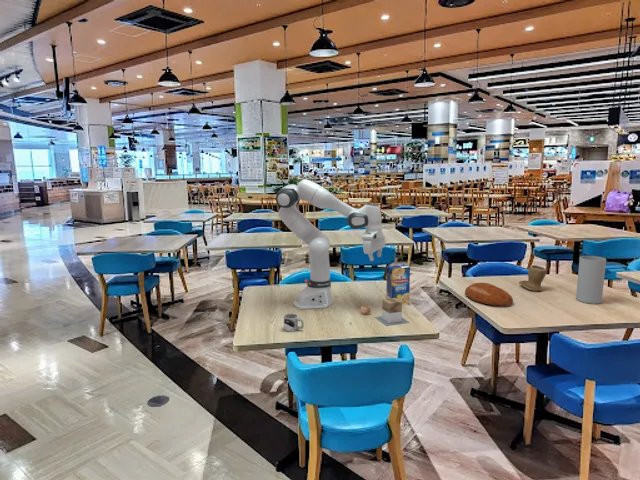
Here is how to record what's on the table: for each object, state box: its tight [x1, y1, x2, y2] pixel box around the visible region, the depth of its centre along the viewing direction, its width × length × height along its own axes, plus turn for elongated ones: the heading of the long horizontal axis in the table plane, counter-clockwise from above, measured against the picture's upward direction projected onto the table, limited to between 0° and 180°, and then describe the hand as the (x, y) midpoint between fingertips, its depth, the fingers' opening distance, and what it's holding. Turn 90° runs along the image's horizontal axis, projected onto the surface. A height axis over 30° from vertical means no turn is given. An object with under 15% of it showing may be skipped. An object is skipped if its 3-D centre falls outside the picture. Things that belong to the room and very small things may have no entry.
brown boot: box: [518, 264, 547, 292], centre depth 263 cm, size 15×12×15 cm
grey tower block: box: [381, 308, 403, 323], centre depth 209 cm, size 7×7×5 cm
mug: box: [283, 313, 304, 333], centre depth 202 cm, size 10×7×7 cm
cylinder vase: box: [575, 255, 607, 305], centre depth 237 cm, size 12×12×25 cm
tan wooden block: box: [381, 298, 403, 313], centre depth 208 cm, size 7×7×5 cm
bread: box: [464, 282, 514, 307], centre depth 244 cm, size 23×32×9 cm
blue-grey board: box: [374, 315, 411, 327], centre depth 209 cm, size 13×13×2 cm
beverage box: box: [385, 264, 411, 305], centre depth 235 cm, size 7×11×22 cm, turn 108°
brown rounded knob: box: [360, 305, 372, 316], centre depth 219 cm, size 5×5×5 cm
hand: (375, 258), depth 227 cm, fingers open, 8 cm apart
